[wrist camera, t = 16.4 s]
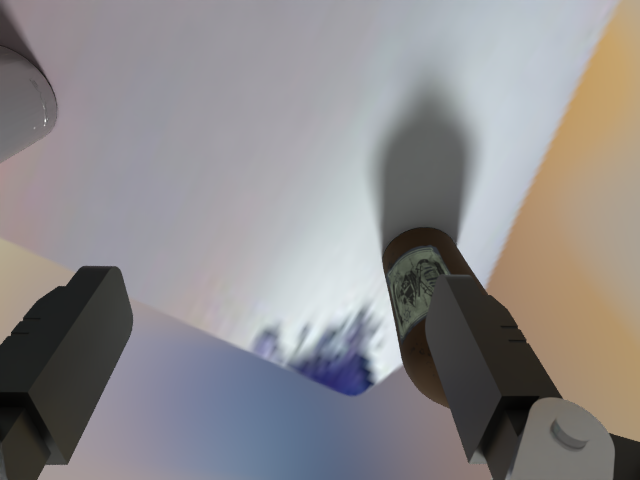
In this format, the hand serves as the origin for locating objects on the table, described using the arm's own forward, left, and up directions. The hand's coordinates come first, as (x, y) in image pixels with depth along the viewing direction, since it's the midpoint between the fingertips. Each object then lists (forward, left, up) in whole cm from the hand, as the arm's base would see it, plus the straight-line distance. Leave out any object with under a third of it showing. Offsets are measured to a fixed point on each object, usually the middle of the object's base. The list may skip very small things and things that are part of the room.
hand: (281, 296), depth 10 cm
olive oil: (+16, -22, -33) cm, 43 cm away
